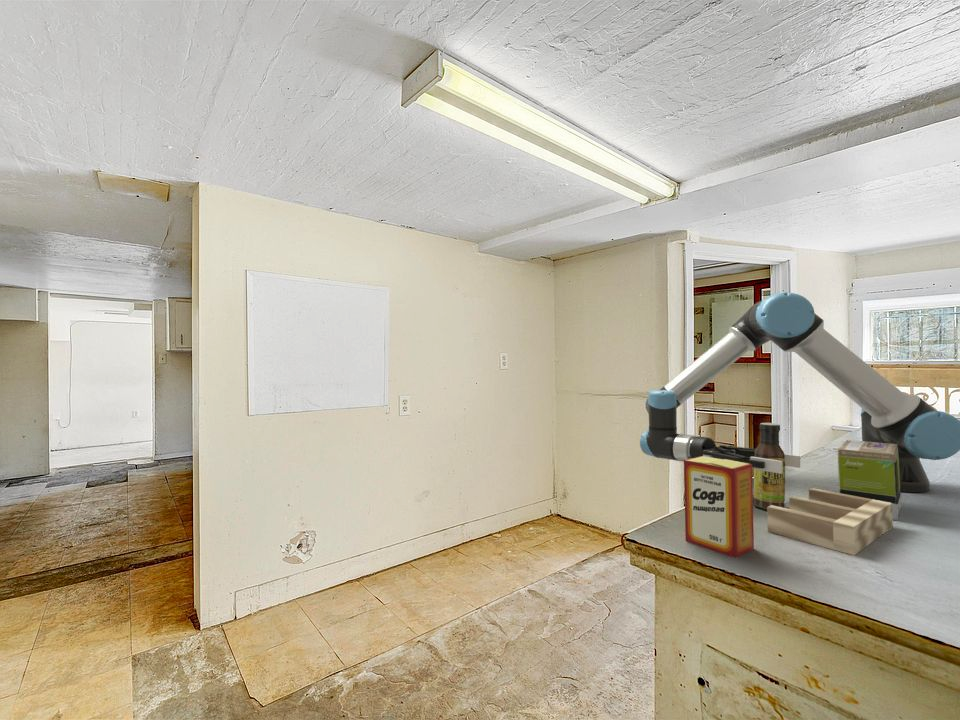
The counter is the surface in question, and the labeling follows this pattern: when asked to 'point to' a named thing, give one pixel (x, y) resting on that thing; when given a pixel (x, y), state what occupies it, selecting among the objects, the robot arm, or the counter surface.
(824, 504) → the comb rack
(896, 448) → the tea box
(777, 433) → the sauce bottle
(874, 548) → the counter surface
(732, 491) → the baking soda box
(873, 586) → the counter surface
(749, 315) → the robot arm
